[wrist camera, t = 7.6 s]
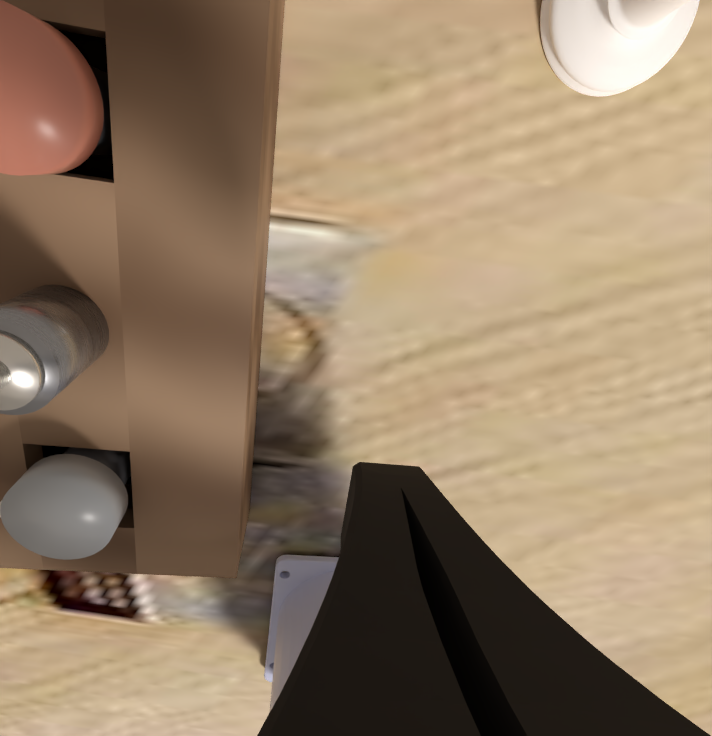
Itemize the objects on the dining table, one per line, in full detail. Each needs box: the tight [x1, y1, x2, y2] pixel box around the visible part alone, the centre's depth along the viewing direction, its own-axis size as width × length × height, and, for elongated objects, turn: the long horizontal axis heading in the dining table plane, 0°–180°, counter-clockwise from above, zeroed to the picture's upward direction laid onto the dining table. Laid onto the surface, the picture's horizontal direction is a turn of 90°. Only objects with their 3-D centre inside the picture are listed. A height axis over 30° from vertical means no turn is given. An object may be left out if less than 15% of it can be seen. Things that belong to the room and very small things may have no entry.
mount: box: [0, 0, 285, 578], centre depth 16 cm, size 20×11×4 cm, turn 172°
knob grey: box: [0, 447, 131, 560], centre depth 17 cm, size 3×4×5 cm
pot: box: [0, 285, 109, 415], centre depth 12 cm, size 3×3×4 cm
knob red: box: [0, 0, 113, 176], centre depth 12 cm, size 3×4×5 cm
